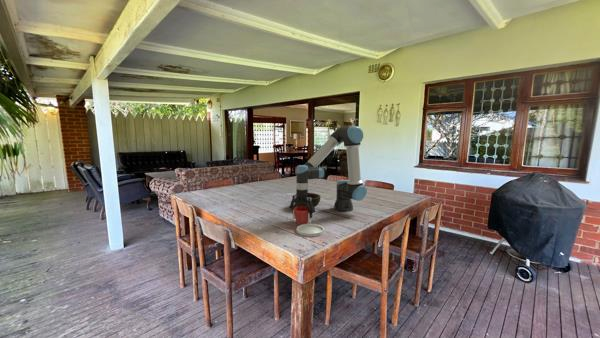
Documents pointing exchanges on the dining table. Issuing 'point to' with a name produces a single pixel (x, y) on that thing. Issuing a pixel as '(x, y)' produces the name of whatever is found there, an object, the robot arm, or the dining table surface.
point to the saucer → (310, 230)
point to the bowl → (314, 199)
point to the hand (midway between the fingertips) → (301, 220)
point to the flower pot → (301, 215)
